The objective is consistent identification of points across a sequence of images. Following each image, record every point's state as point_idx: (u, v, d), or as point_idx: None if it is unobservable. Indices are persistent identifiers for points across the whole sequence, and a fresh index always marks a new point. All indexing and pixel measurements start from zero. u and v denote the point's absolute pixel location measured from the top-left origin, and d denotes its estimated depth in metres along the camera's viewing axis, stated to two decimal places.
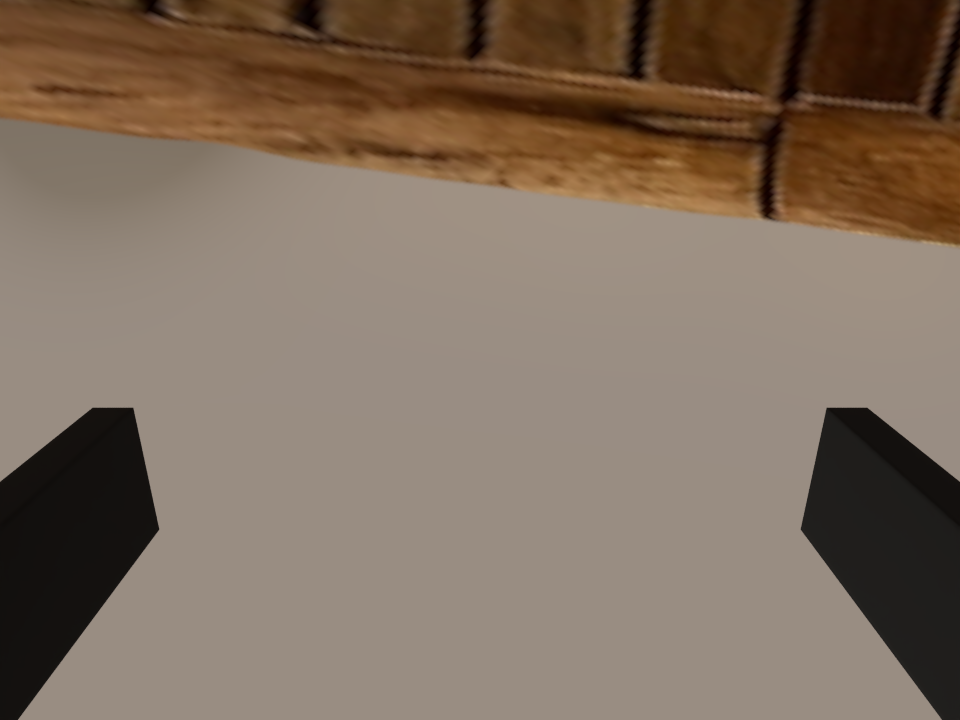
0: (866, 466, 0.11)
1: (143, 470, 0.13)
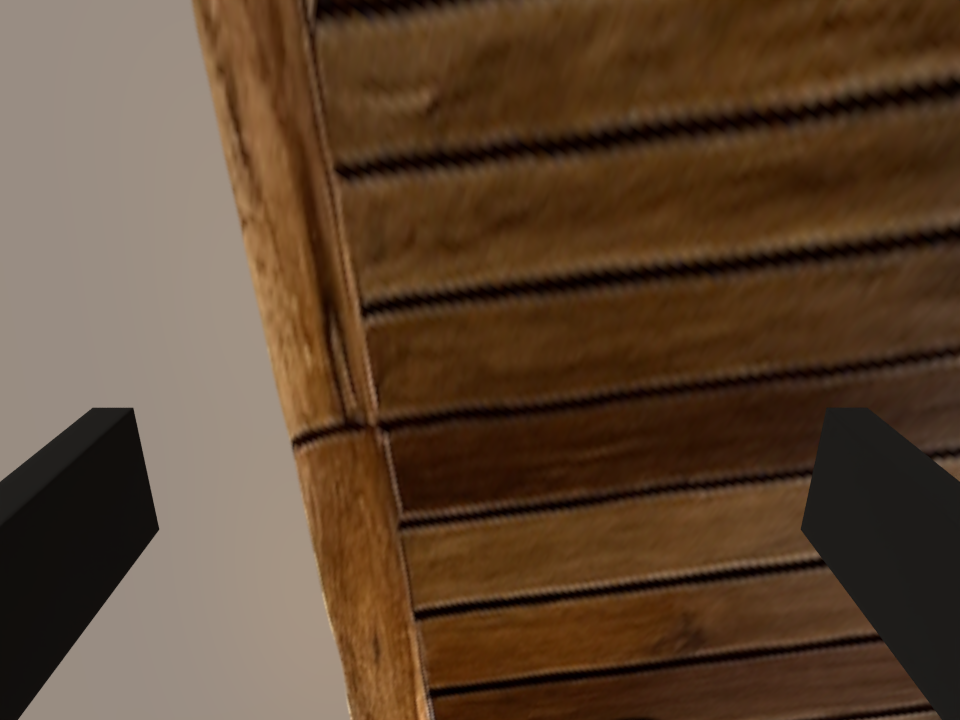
0: (866, 467, 0.11)
1: (143, 470, 0.13)
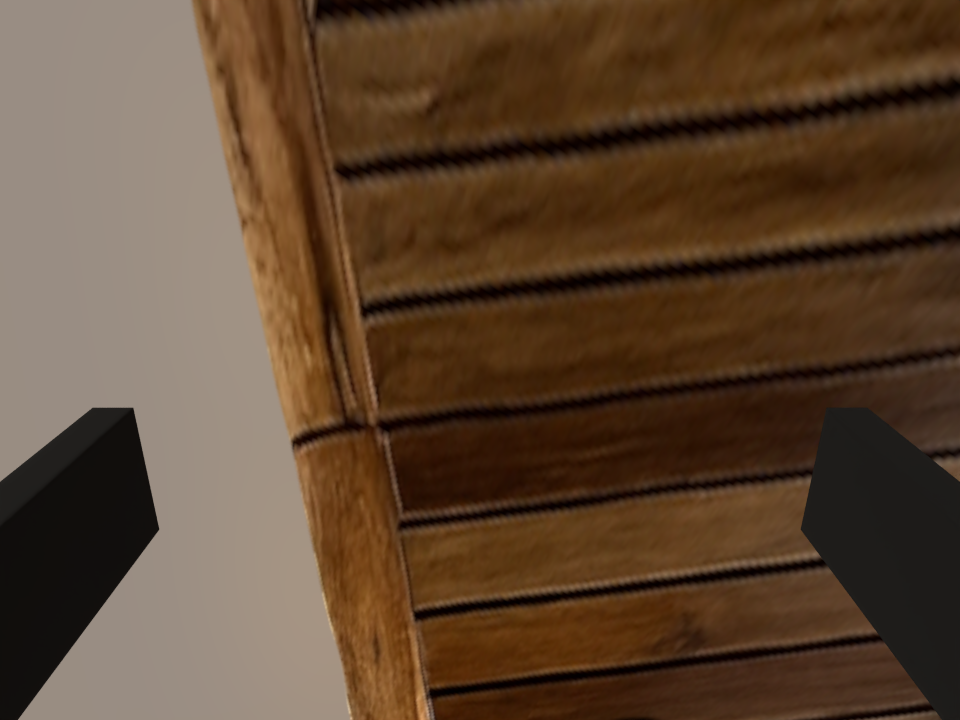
0: (866, 467, 0.11)
1: (143, 470, 0.13)
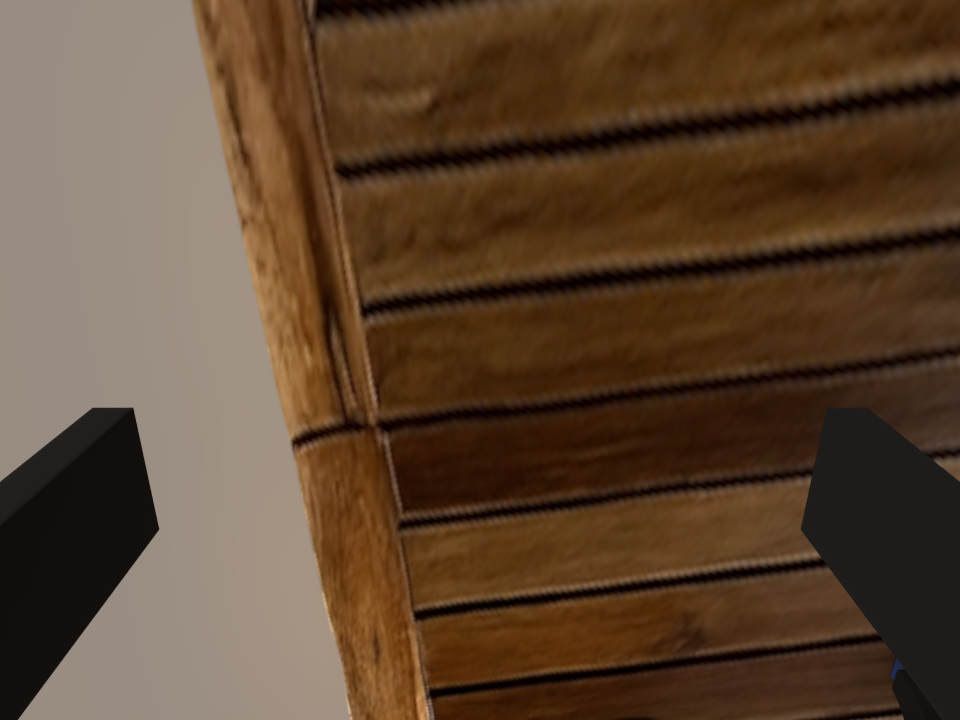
0: (866, 467, 0.11)
1: (143, 470, 0.13)
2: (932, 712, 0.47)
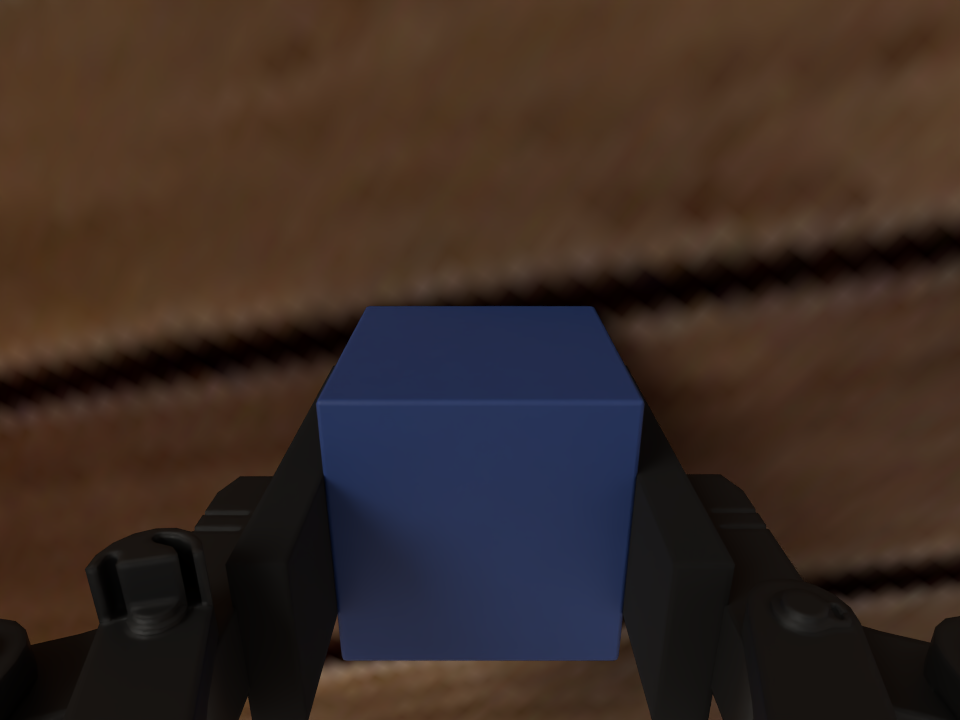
0: None
1: None
2: None
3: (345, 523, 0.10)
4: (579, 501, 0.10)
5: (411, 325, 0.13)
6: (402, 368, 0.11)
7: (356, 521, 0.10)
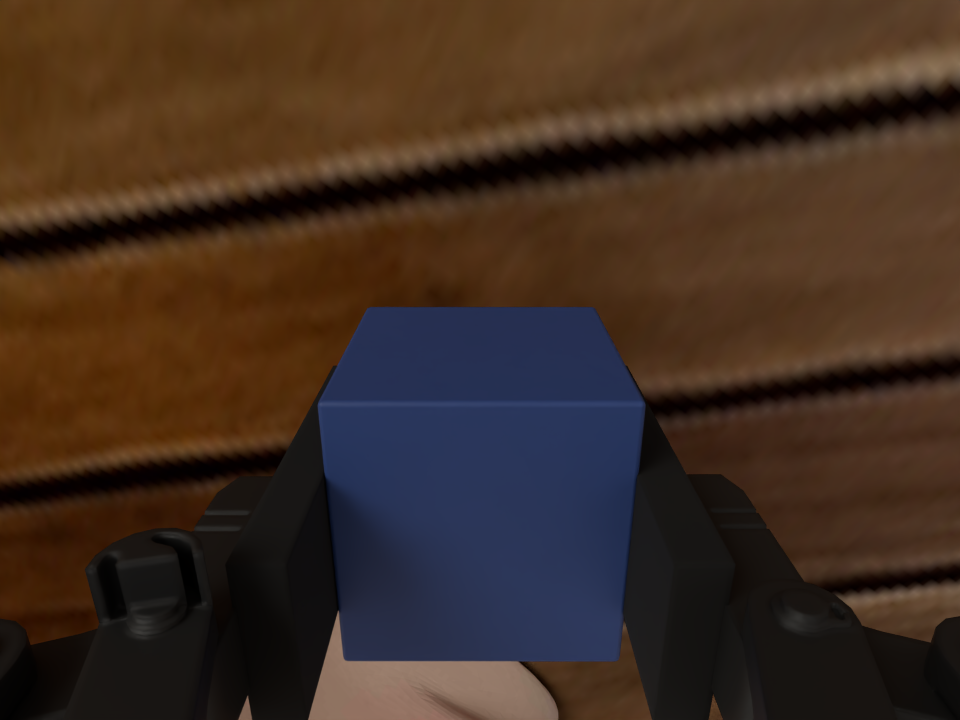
0: None
1: None
2: None
3: (346, 524, 0.10)
4: (580, 502, 0.10)
5: (412, 326, 0.13)
6: (403, 369, 0.11)
7: (358, 523, 0.10)
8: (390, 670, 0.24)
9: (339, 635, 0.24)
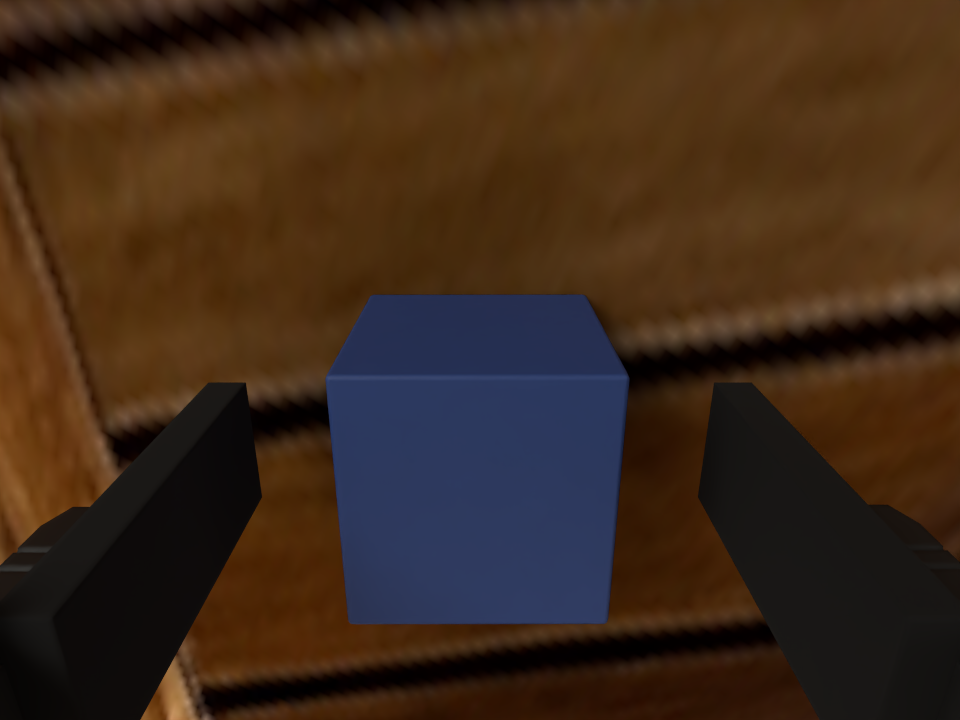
0: (738, 433, 0.12)
1: (251, 440, 0.14)
2: None
3: (351, 492, 0.11)
4: (570, 471, 0.11)
5: (413, 311, 0.14)
6: (405, 348, 0.12)
7: (362, 491, 0.11)
8: None
9: None
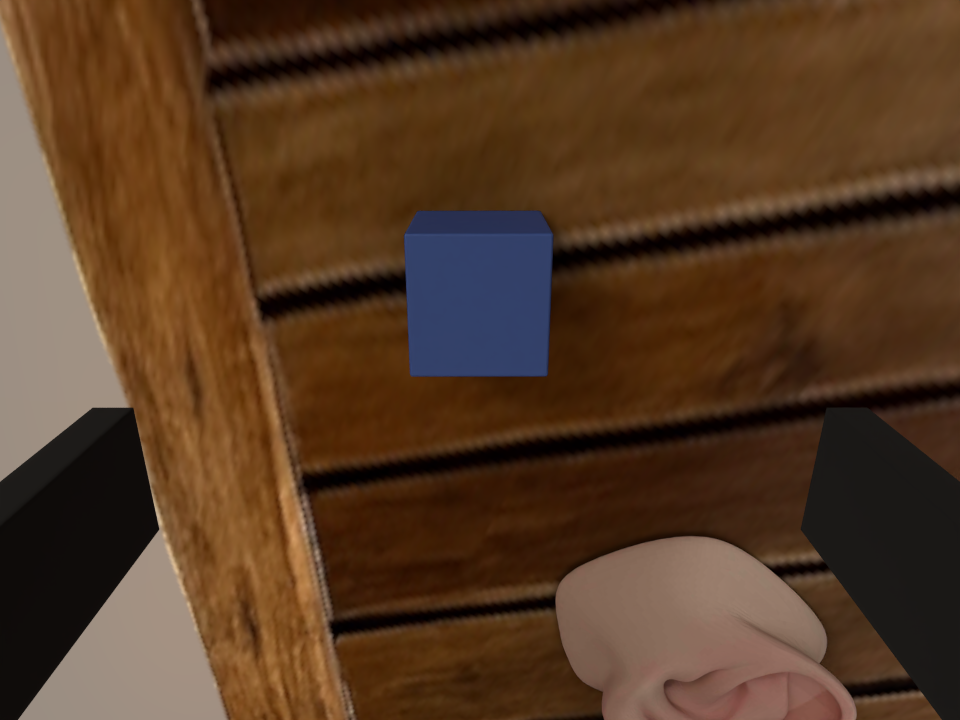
0: (866, 466, 0.11)
1: (143, 470, 0.13)
2: None
3: (415, 297, 0.22)
4: (525, 285, 0.22)
5: (443, 216, 0.24)
6: (441, 226, 0.22)
7: (420, 296, 0.22)
8: (715, 602, 0.30)
9: (674, 575, 0.30)
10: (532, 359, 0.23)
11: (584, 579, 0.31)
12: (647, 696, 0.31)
